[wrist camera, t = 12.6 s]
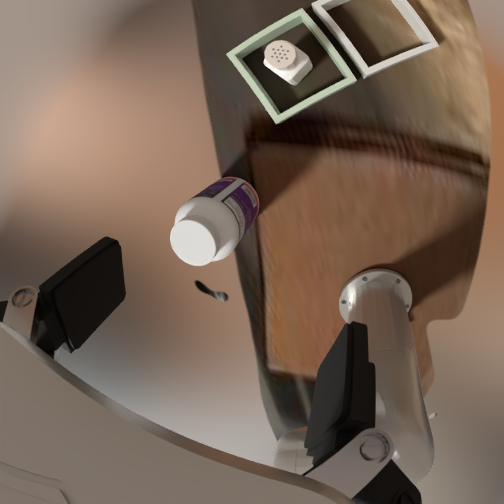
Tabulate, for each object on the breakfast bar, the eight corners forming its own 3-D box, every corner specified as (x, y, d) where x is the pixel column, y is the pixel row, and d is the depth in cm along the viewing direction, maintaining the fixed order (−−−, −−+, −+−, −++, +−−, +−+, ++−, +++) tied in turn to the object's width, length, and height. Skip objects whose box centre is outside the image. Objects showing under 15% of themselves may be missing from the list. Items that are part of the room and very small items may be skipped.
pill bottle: (204, 213, 44) (155, 256, 32) (218, 167, 40) (166, 196, 27) (250, 234, 43) (215, 287, 31) (269, 188, 39) (236, 228, 27)
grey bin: (432, 50, 23) (439, 46, 20) (363, 78, 28) (366, 75, 26) (381, -17, 19) (384, -25, 17) (313, 11, 25) (311, 3, 22)
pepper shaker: (272, 69, 31) (252, 57, 23) (290, 48, 29) (276, 29, 21) (295, 87, 31) (283, 79, 23) (314, 66, 29) (308, 51, 21)
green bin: (355, 83, 29) (356, 80, 26) (280, 123, 34) (276, 124, 32) (304, 15, 26) (302, 8, 23) (233, 57, 31) (226, 54, 28)
